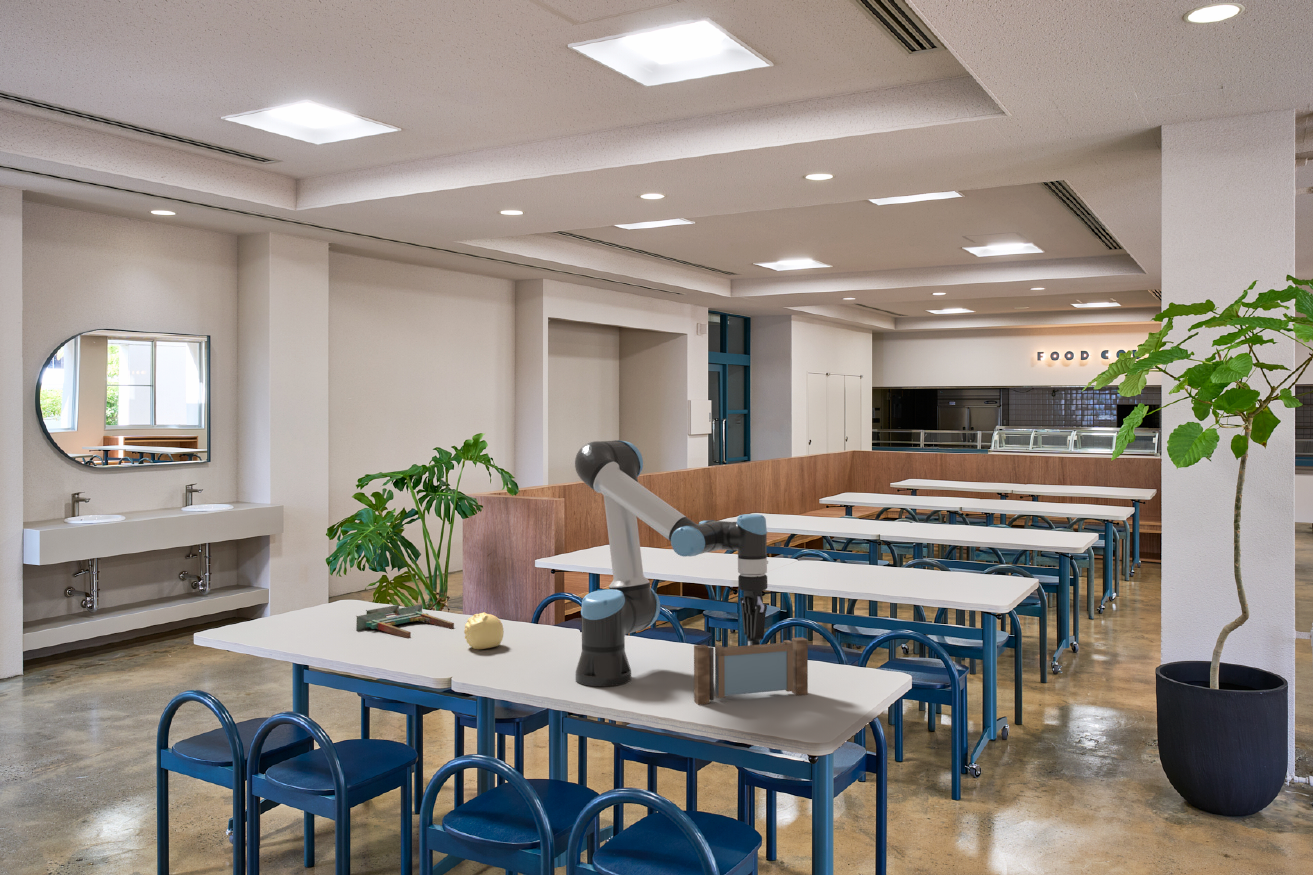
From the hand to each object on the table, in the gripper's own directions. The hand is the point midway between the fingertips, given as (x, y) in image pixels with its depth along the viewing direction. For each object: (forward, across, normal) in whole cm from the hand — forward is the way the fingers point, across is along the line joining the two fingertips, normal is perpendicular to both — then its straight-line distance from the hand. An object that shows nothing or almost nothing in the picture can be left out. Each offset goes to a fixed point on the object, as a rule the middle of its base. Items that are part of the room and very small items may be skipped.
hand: (754, 664), depth 248 cm
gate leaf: (+5, -7, +3) cm, 9 cm away
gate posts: (+6, -7, +4) cm, 10 cm away
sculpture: (+5, +68, +62) cm, 93 cm away
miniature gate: (+5, +106, +85) cm, 136 cm away
